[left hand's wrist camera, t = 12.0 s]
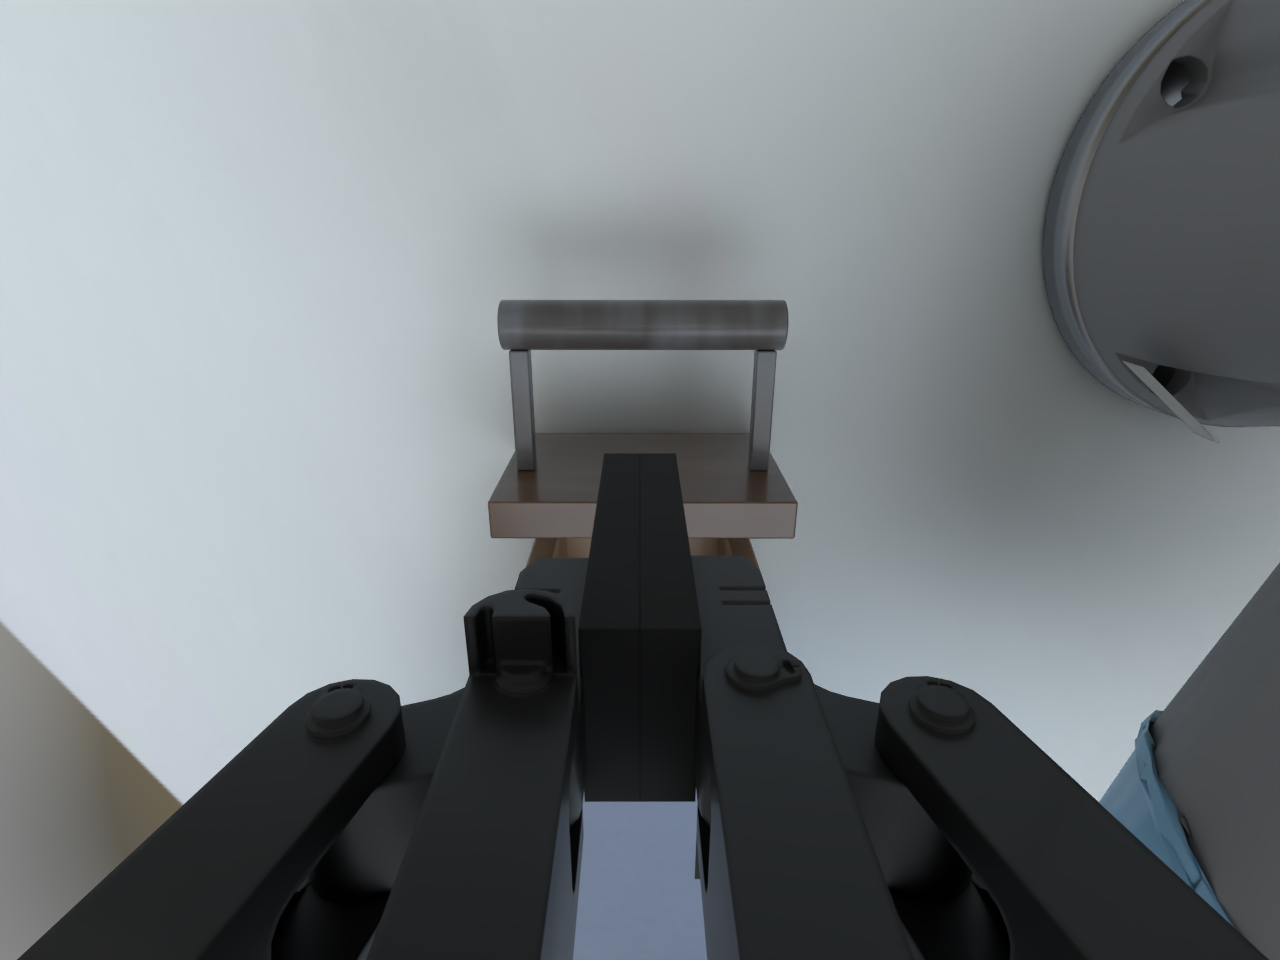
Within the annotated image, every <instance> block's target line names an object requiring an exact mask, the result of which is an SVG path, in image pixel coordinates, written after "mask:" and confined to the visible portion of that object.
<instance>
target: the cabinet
mask: <svg viewBox="0 0 1280 960" xmlns="http://www.w3.org/2000/svg"><path fill="white" fill-rule="evenodd" d="M697 805H698V803H697V792H696V799H695V802H585V799H584V796H583V831H584V838H583V849H582V861H581V872H580V884H579V895H578V907H577V918H576V930H575V941H574V953H573V960H707V952H706V940H705V929H704V917H703V906H702V894H701V883H700V879H695V856H696V831H697Z"/></svg>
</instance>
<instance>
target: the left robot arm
mask: <svg viewBox="0 0 1280 960" xmlns="http://www.w3.org/2000/svg"><path fill="white" fill-rule="evenodd" d="M1043 263H1044V277H1045V283H1046V289H1047V294H1048V299H1049V302H1050V306H1051V309H1052V313H1053V316H1054V318H1055V321H1056V323H1057V325H1058V328H1059V330H1060V333H1061V334H1062V336H1063V338H1064V340H1065V341H1066V343H1067V345H1068V347H1069V348H1070V350H1071V351H1072V352H1073V354H1074V355H1075V356H1076V358H1077V359H1078V360H1079V362H1080V363H1081V364H1082V365H1083V366H1084V367H1085V368H1086V369H1087V370H1088V371H1089V372H1090V373H1091V375H1093V376H1094V377H1095V378H1096V379H1098V380H1099V381H1100V382H1101V383H1102V384H1104V385H1105V386H1106V387H1108V388H1110V389H1111V390H1113V391H1114V392H1116V393H1118V394H1119V395H1121V396H1123V397H1125V398H1127V399H1130V400H1132V401H1134V402H1136V403H1139V404H1141V405H1144V406H1146V407H1149V408H1152V409H1154V410H1157V411H1160V412H1162V413H1165V414H1168V415H1170V416H1173V417H1176V418H1179V419H1181V420H1182V421H1183V422H1184V423H1185V424H1186V425H1187V426H1188V427H1189V428H1190V429H1191V430H1192V431H1193V432H1194V433H1195V434H1197V435H1200V436H1202V437H1205V438H1207V439H1210V440H1212V441H1215V442H1217V443H1219V442H1218V441H1217V440H1216V439H1215V438H1214V437H1213V436H1212V435H1211V434H1210V433H1209V432H1208V431H1207V430H1206V429H1205V428H1204V427H1203V426H1202V425H1201V424H1204V425H1213V426H1221V427H1251V426H1280V0H1186V1H1185V2H1183V3H1182V4H1181V5H1179V6H1178V7H1177V8H1175V9H1174V10H1173V11H1171V12H1170V13H1169V14H1168V15H1166V16H1165V17H1164V18H1163V19H1162V20H1161V21H1159V22H1158V23H1157V24H1156V25H1155V26H1154V27H1153V28H1152V29H1151V30H1149V31H1148V32H1147V33H1146V34H1145V35H1144V36H1143V37H1142V38H1141V39H1140V40H1139V41H1138V42H1137V43H1136V44H1135V45H1134V46H1133V47H1132V49H1131V50H1130V51H1129V52H1128V53H1127V54H1126V55H1125V56H1124V57H1123V58H1122V60H1121V61H1120V62H1119V63H1118V65H1117V66H1116V67H1115V68H1114V69H1113V71H1112V72H1111V73H1110V74H1109V75H1108V77H1107V78H1106V80H1105V81H1104V83H1103V84H1102V85H1101V87H1100V88H1099V90H1098V91H1097V93H1096V94H1095V95H1094V97H1093V98H1092V100H1091V102H1090V103H1089V105H1088V107H1087V108H1086V110H1085V112H1084V113H1083V115H1082V117H1081V118H1080V120H1079V122H1078V124H1077V126H1076V128H1075V130H1074V132H1073V134H1072V136H1071V138H1070V140H1069V142H1068V144H1067V147H1066V149H1065V152H1064V154H1063V157H1062V160H1061V162H1060V165H1059V167H1058V170H1057V174H1056V177H1055V180H1054V183H1053V187H1052V190H1051V194H1050V199H1049V204H1048V208H1047V213H1046V221H1045V229H1044V243H1043ZM464 626H465V635H466V645H467V654H468V663H469V673H470V676H469V678H468V681H467V684H466V687H465V688H463V689H461V690H458V691H456V692H454V693H452V694H450V695H446V696H443V697H439V698H436V699H432V700H428V701H423V702H418V703H414V704H409V705H404V706H401V704H400V697H399V695H398V694H397V693H396V692H395V691H394V689H393V688H392V687H391V686H390V685H387V684H384V683H381V682H378V681H376V680H361V679H352V680H347V681H342V682H337V683H332V684H329V685H326V686H324V687H321V688H319V689H317V690H314V691H312V692H310V693H307V694H306V695H305V696H303V697H302V698H300V699H299V700H298V701H296V702H295V703H293V704H292V705H291V706H289V707H288V708H287V709H286V710H285V711H284V712H283V713H282V714H281V715H280V716H278V717H277V718H276V719H275V720H274V721H273V722H272V723H271V724H270V725H269V726H268V727H267V728H266V729H265V730H263V731H262V732H261V733H260V734H259V735H258V736H257V737H256V738H255V739H254V740H253V741H252V742H251V743H249V744H248V745H247V746H246V747H245V748H244V749H243V750H242V751H241V752H240V753H239V754H238V755H237V756H236V757H234V758H233V759H232V760H231V761H230V762H229V763H228V764H227V765H226V766H225V767H224V768H223V769H222V770H220V771H219V772H218V773H217V774H216V775H215V776H214V777H213V778H212V779H211V780H210V781H209V782H208V783H207V784H205V785H204V786H203V787H202V788H201V789H200V790H199V791H198V792H197V793H196V794H195V795H194V796H193V797H191V798H190V799H189V800H188V801H187V802H186V803H185V804H184V805H183V806H182V807H181V808H180V809H179V810H178V811H176V812H175V813H174V814H173V815H172V816H171V817H170V818H169V819H168V820H167V821H166V822H165V823H164V824H162V825H161V826H160V827H159V828H158V829H157V830H156V831H155V832H154V833H153V834H152V835H151V836H150V837H149V838H147V839H146V840H145V841H144V842H143V843H142V844H141V845H140V846H139V847H138V848H137V849H136V850H135V851H133V852H132V853H131V854H130V855H129V856H128V857H127V858H126V859H125V860H124V861H123V862H122V863H121V864H119V865H118V866H117V867H116V868H115V869H114V870H113V871H112V872H111V873H110V874H109V875H108V876H107V877H106V878H104V879H103V880H102V881H101V882H100V883H99V884H98V885H97V886H96V887H95V888H94V889H93V890H92V891H91V892H89V893H88V894H87V895H86V896H85V897H84V898H83V899H82V900H81V901H80V902H79V903H78V904H77V905H75V906H74V907H73V908H72V909H71V910H70V911H69V912H68V913H67V914H66V915H65V916H64V917H63V918H61V919H60V920H59V921H58V922H57V923H56V924H55V925H54V926H53V927H52V928H51V929H50V930H49V931H48V932H47V933H45V934H44V935H43V936H42V937H41V938H40V939H39V940H38V941H37V942H36V943H35V944H34V945H32V946H31V947H30V948H29V949H28V950H27V951H26V952H25V953H24V954H23V955H22V956H21V957H20V958H19V959H17V960H573V953H574V941H575V930H576V918H577V907H578V895H579V884H580V872H581V861H582V849H583V838H584V831H583V796H584V799H585V802H695V799H696V792H697V803H698V805H697V831H696V856H695V879H700V883H701V894H702V906H703V917H704V929H705V940H706V952H707V960H1280V563H1279V564H1278V566H1277V567H1276V568H1275V569H1274V571H1273V572H1272V573H1271V575H1270V576H1269V577H1268V578H1267V580H1266V581H1265V582H1264V584H1263V585H1262V586H1261V587H1260V589H1259V590H1258V591H1257V592H1256V594H1255V595H1254V596H1253V598H1252V599H1251V600H1250V601H1249V603H1248V604H1247V605H1246V606H1245V608H1244V609H1243V610H1242V612H1241V613H1240V614H1239V615H1238V617H1237V618H1236V619H1235V621H1234V622H1233V623H1232V624H1231V626H1230V627H1229V628H1228V629H1227V631H1226V632H1225V633H1224V635H1223V636H1222V637H1221V638H1220V640H1219V641H1218V642H1217V644H1216V645H1215V646H1214V647H1213V649H1212V650H1211V651H1210V652H1209V654H1208V655H1207V656H1206V658H1205V659H1204V660H1203V661H1202V663H1201V664H1200V665H1199V666H1198V668H1197V669H1196V670H1195V672H1194V673H1193V674H1192V675H1191V677H1190V678H1189V679H1188V681H1187V682H1186V683H1185V684H1184V686H1183V687H1182V688H1181V689H1180V691H1179V692H1178V693H1177V695H1176V696H1175V697H1174V698H1173V700H1172V701H1171V702H1170V703H1169V705H1168V706H1167V707H1166V709H1165V710H1164V711H1158V710H1156V711H1154V712H1153V713H1152V714H1151V715H1150V716H1149V717H1147V718H1146V719H1145V720H1144V721H1143V722H1142V723H1141V727H1140V730H1139V733H1138V737H1137V738H1136V739H1135V750H1134V752H1133V753H1132V755H1131V756H1130V758H1129V759H1128V761H1127V762H1126V764H1125V765H1124V766H1123V768H1122V769H1121V771H1120V772H1119V774H1118V775H1117V777H1116V778H1115V780H1114V781H1113V783H1112V784H1111V786H1110V787H1109V789H1108V790H1107V791H1106V793H1105V794H1104V796H1103V797H1102V799H1101V800H1100V802H1098V801H1097V800H1096V799H1094V798H1093V797H1092V796H1091V795H1090V794H1089V793H1088V792H1087V791H1086V790H1085V789H1084V788H1083V787H1081V786H1080V785H1079V784H1078V783H1077V782H1076V781H1075V780H1074V779H1073V778H1072V777H1071V776H1070V775H1068V774H1067V773H1066V772H1065V771H1064V770H1063V769H1062V768H1061V767H1060V766H1059V765H1058V764H1057V763H1055V762H1054V761H1053V760H1052V759H1051V758H1050V757H1049V756H1048V755H1047V754H1046V753H1045V752H1044V751H1042V750H1041V749H1040V748H1039V747H1038V746H1037V745H1036V744H1035V743H1034V742H1033V741H1032V740H1031V739H1029V738H1028V737H1027V736H1026V735H1025V734H1024V733H1023V732H1022V731H1021V730H1020V729H1019V728H1018V727H1017V726H1015V725H1014V724H1013V723H1012V722H1011V721H1010V720H1009V719H1008V718H1007V717H1006V716H1005V715H1004V714H1002V713H1001V712H1000V711H999V710H998V709H997V708H996V707H995V706H994V705H993V704H992V703H990V702H989V701H987V700H986V699H985V698H983V697H982V696H980V695H979V694H978V693H976V692H975V691H973V690H971V689H969V688H966V687H964V686H962V685H959V684H957V683H954V682H952V681H949V680H944V679H939V678H934V677H929V676H920V677H905V678H902V679H899V680H896V681H893V682H891V683H890V684H889V685H888V686H887V687H886V688H885V689H884V690H883V691H882V692H881V697H880V703H875V702H870V701H866V700H861V699H857V698H852V697H847V696H844V695H840V694H837V693H833V692H830V691H828V690H826V689H824V688H821V687H819V686H817V685H815V684H814V683H813V680H812V677H811V675H810V673H809V672H808V670H807V669H806V667H805V666H804V664H803V663H802V662H801V661H800V660H799V659H797V658H796V657H794V656H793V655H791V654H790V653H788V652H787V650H786V647H785V644H784V641H783V638H782V635H781V632H780V629H779V626H778V623H777V620H776V617H775V614H774V611H773V608H772V605H770V599H769V596H768V593H767V590H766V589H765V584H764V581H763V578H762V575H761V572H760V570H759V569H758V568H757V567H756V566H754V565H753V564H752V563H751V562H750V561H749V560H747V559H746V558H745V557H744V556H691V553H690V546H689V539H688V532H687V526H686V519H685V512H684V505H683V499H682V492H681V485H680V479H679V472H678V465H677V458H676V453H604V458H603V465H602V472H601V479H600V485H599V492H598V499H597V505H596V512H595V519H594V526H593V532H592V539H591V546H590V553H589V558H536V559H535V560H534V561H533V562H532V563H531V564H530V565H528V566H527V567H526V568H525V569H524V570H523V571H521V572H520V575H519V578H518V581H517V584H516V587H515V590H509V591H504V592H501V593H498V594H495V595H491V596H488V597H486V598H485V599H483V600H481V601H480V602H478V603H476V604H475V605H473V606H472V607H471V608H470V610H469V611H468V612H467V613H466V615H465V616H464Z"/></svg>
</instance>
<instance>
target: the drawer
mask: <svg viewBox="0 0 1280 960" xmlns="http://www.w3.org/2000/svg"><path fill="white" fill-rule="evenodd" d="M787 333H788V309H787V304H786V302H785V301H784V300H502V301H500V303H499V307H498V335H499V341H500V344H501V347H502V349H504V350H510V351H509V360H510V375H511V390H512V405H513V420H514V435H515V452H514V454H513V456H512V458H511V460H510V462H509V464H508V466H507V467H506V469H505V471H504V473H503V475H502V477H501V479H500V481H499V483H498V485H497V486H496V488H495V490H494V492H493V494H492V496H491V498H490V500H489V502H488V510H489V521H490V533H491V538H535V541H534V544H533V547H532V550H531V553H530V556H529V559H528V562H527V566H528V565H530V564H531V563H532V562H533V561H534V560H535V559H536V558H589V553H590V546H591V539H592V532H593V526H594V519H595V512H596V505H597V499H598V492H599V485H600V479H601V472H602V465H603V458H604V453H676V458H677V465H678V472H679V479H680V485H681V492H682V499H683V505H684V512H685V519H686V526H687V532H688V539H689V546H690V553H691V556H744V557H745V558H746V559H747V560H749V561H750V562H751V563H752V564H753V565H754V566H756V567H757V568H758V569H759V566H758V563H757V560H756V557H755V554H754V551H753V548H752V545H751V542H750V539H749V538H794V537H795V527H796V516H797V505H798V503H797V501H796V499H795V497H794V495H793V494H792V492H791V490H790V488H789V486H788V484H787V483H786V481H785V479H784V477H783V475H782V473H781V472H780V470H779V468H778V466H777V464H776V462H775V461H774V459H773V457H772V455H771V453H770V438H771V424H772V410H773V396H774V382H775V368H776V354H777V353H776V351H775V350H782V349H783V348H784V346H785V344H786V340H787ZM531 350H755V355H754V372H753V388H752V405H751V421H750V433H535V420H534V402H533V384H532V366H531ZM527 566H526V567H527ZM759 570H760V569H759Z"/></svg>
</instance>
